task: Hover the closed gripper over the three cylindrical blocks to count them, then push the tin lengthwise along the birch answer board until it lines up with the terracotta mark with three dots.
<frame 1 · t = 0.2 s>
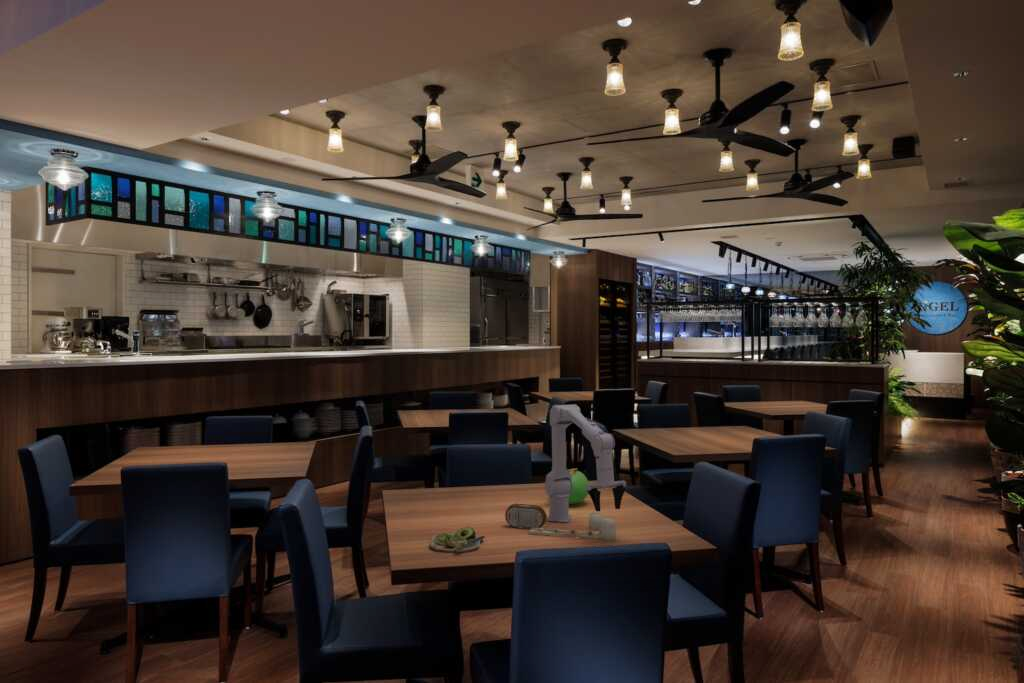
hand: (607, 510, 235), 10 cm above the table, tool pointing down, fingers open, 7 cm apart
answer board: (564, 534, 241), on the table
tin: (525, 528, 250), on the table
cylindrical block 3: (596, 528, 250), on the table
cylindrical block 2: (607, 533, 244), on the table
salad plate: (456, 546, 229), on the table
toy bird: (568, 503, 288), on the table
cylindrical block 1: (608, 538, 237), on the table
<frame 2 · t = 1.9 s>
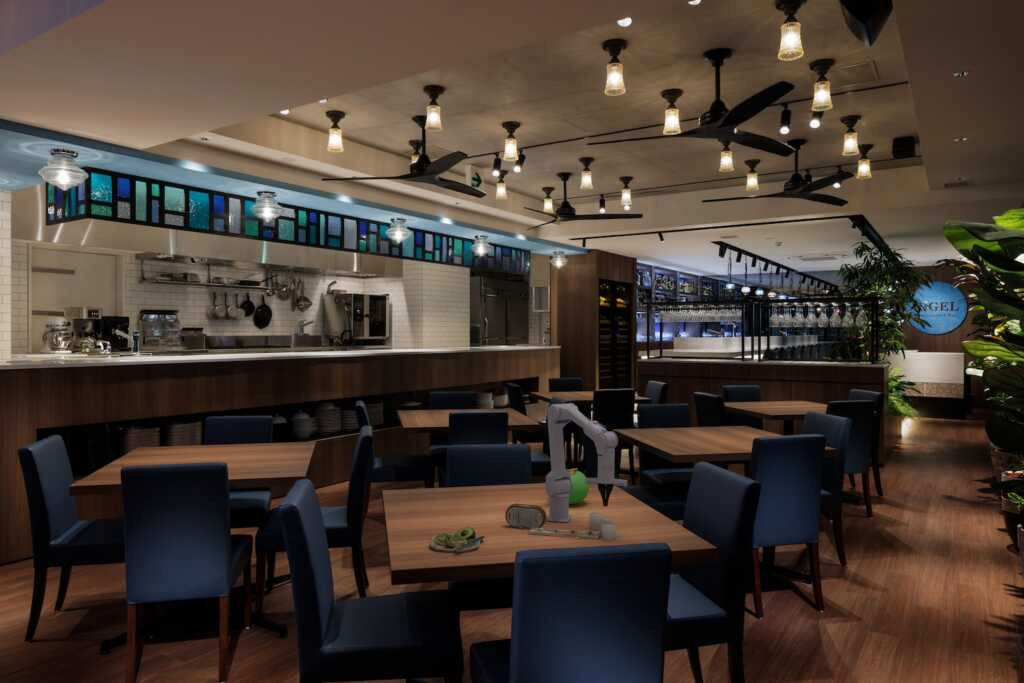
hand: (605, 505, 241), 10 cm above the table, tool pointing down, fingers closed
nothing on the table moved.
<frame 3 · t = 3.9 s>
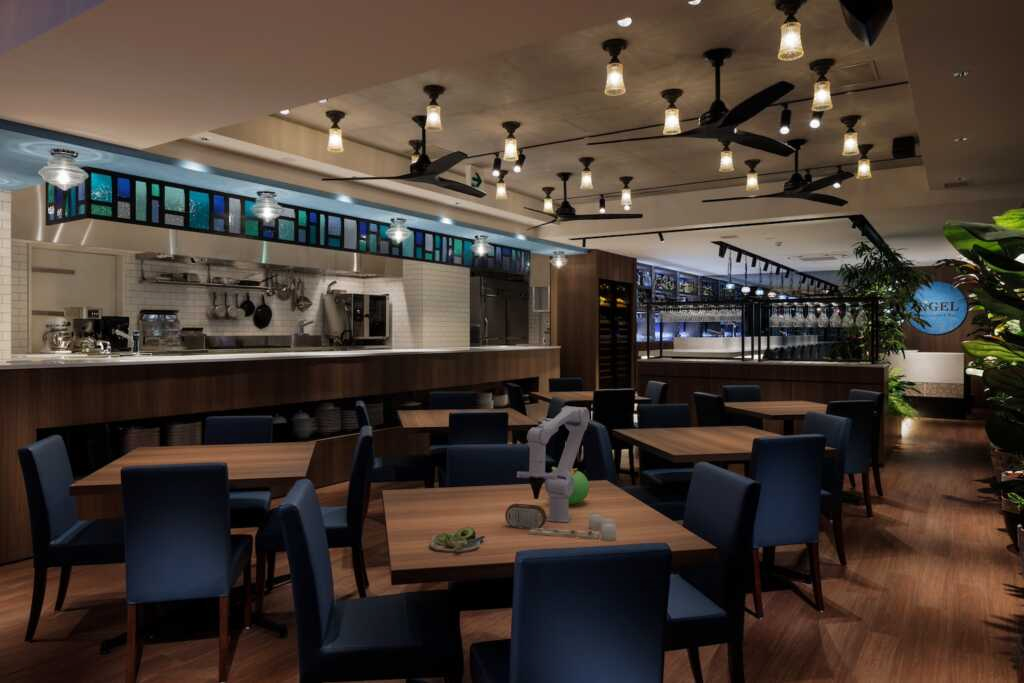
hand: (536, 498, 250), 10 cm above the table, tool pointing down, fingers closed
nothing on the table moved.
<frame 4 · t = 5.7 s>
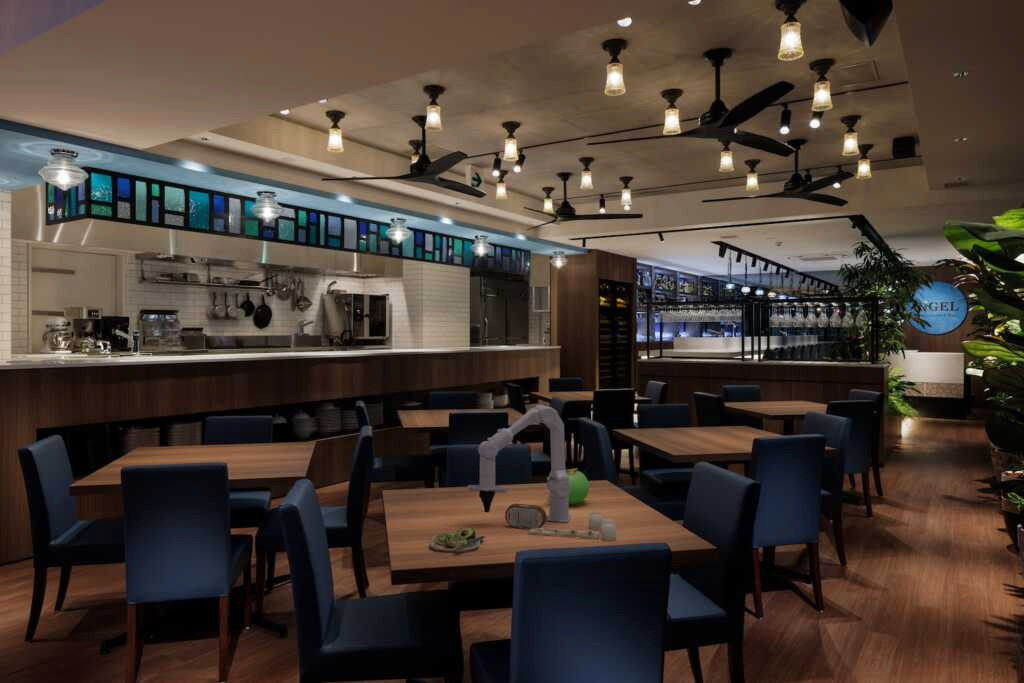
hand: (487, 511, 253), 5 cm above the table, tool pointing down, fingers closed
nothing on the table moved.
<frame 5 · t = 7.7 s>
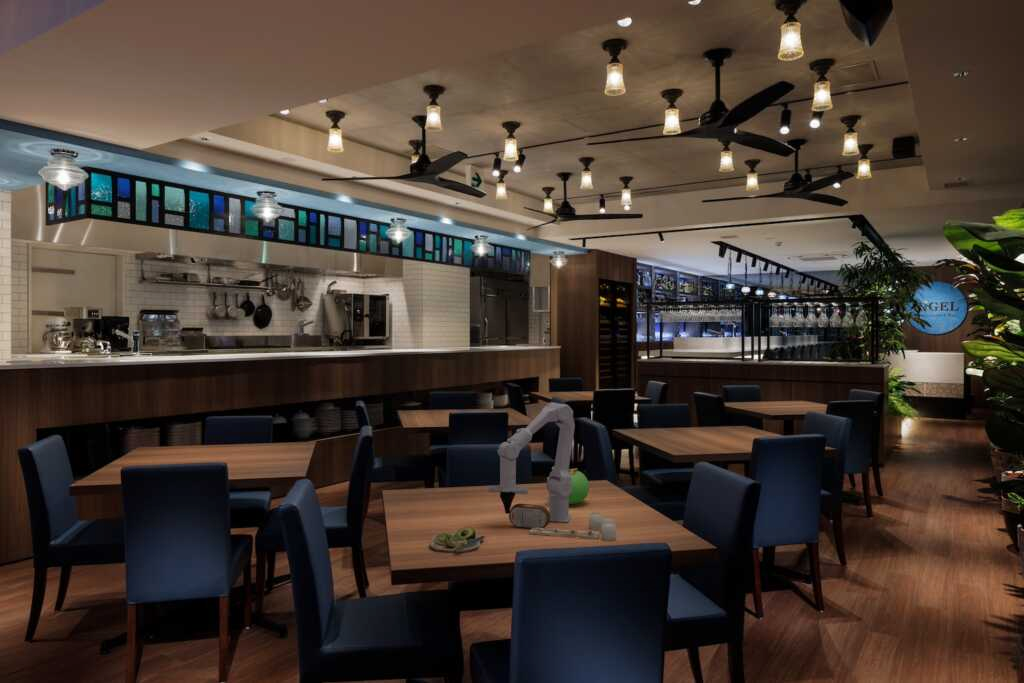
hand: (507, 512, 251), 5 cm above the table, tool pointing down, fingers closed
tin: (529, 528, 249), on the table, touching gripper
everything else where it was.
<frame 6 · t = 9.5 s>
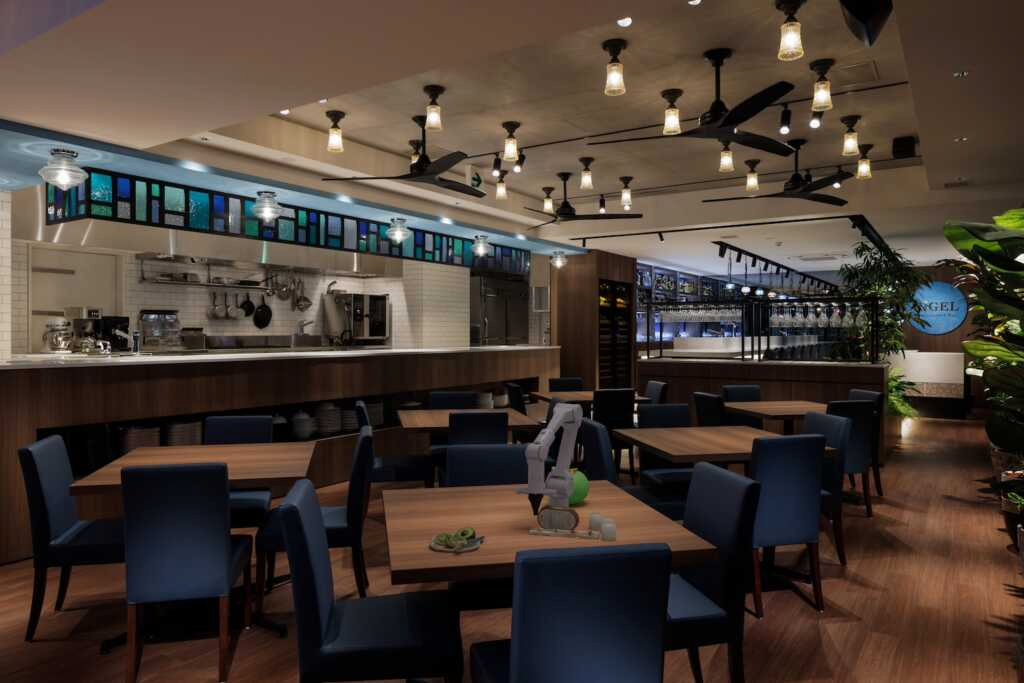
hand: (535, 514, 249), 5 cm above the table, tool pointing down, fingers closed
tin: (557, 530, 247), on the table, touching gripper
everything else where it was.
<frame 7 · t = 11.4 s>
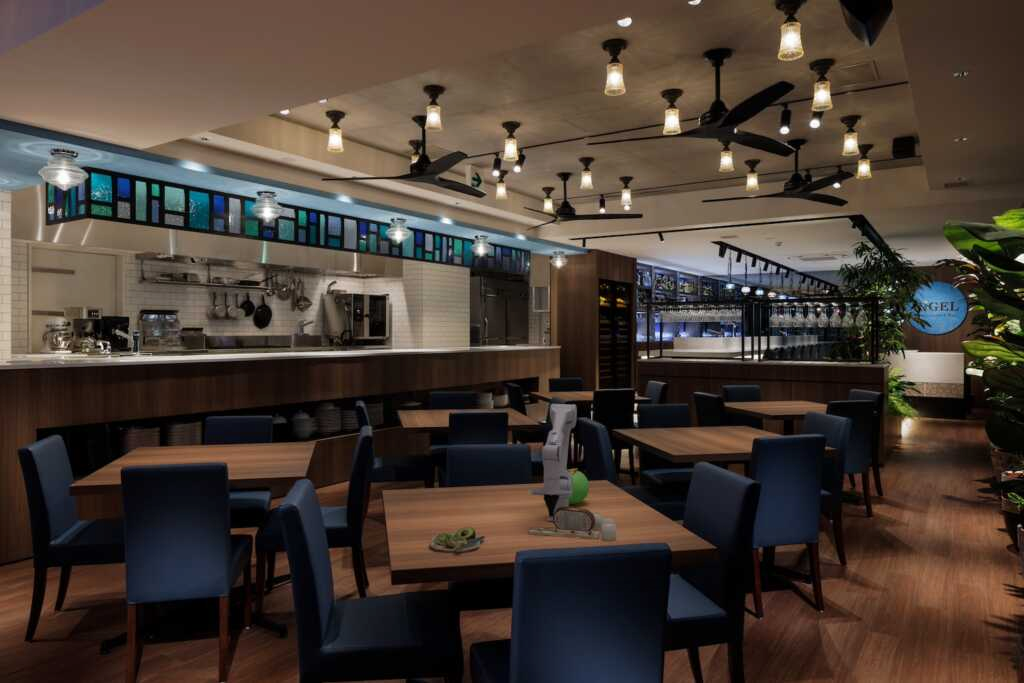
hand: (551, 515, 248), 5 cm above the table, tool pointing down, fingers closed
tin: (573, 532, 245), on the table, touching gripper
everything else where it was.
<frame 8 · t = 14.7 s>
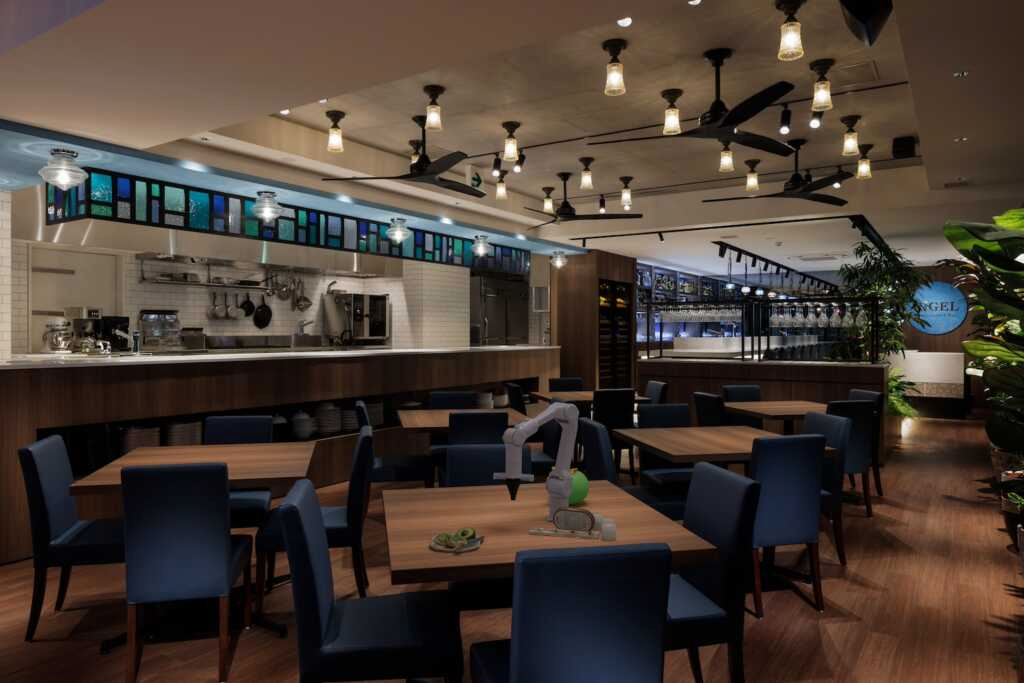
hand: (513, 499, 248), 10 cm above the table, tool pointing down, fingers closed
tin: (573, 532, 245), on the table
everything else where it was.
at the end: tin 0.7 cm from the target spot, on the table; tin tilted 0°; tin moved 17.6 cm from its start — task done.
